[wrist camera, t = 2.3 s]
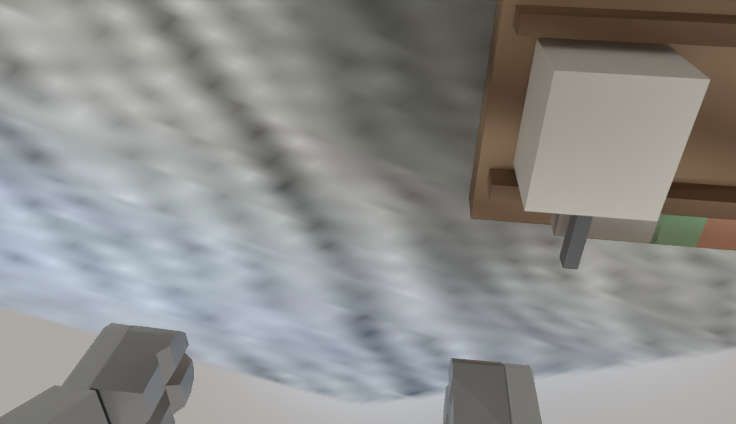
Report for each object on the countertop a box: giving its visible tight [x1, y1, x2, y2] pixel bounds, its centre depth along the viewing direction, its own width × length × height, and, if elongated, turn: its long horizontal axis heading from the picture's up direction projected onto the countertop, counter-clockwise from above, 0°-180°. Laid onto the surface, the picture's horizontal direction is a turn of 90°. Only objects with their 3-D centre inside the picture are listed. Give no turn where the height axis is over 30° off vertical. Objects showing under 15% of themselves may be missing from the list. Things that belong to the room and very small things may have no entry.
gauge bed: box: [469, 0, 736, 250], centre depth 22 cm, size 12×17×6 cm
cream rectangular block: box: [513, 38, 711, 269], centre depth 22 cm, size 9×5×4 cm, turn 178°
